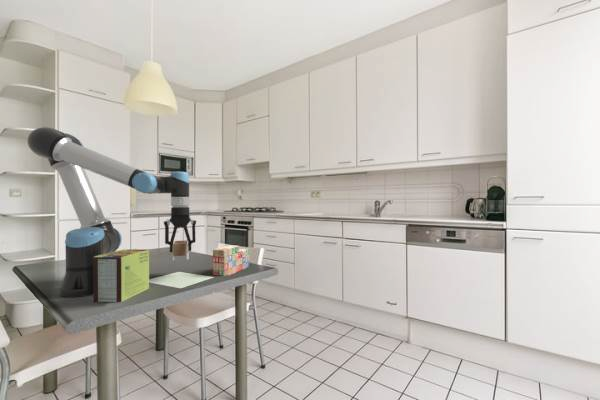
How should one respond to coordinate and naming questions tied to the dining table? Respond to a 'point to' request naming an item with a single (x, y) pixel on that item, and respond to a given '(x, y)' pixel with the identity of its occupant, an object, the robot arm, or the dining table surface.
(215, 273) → the multicolored rectangular box
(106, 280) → the protein box
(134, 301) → the dining table surface
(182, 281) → the sage board
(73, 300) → the dining table surface
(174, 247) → the walnut block
